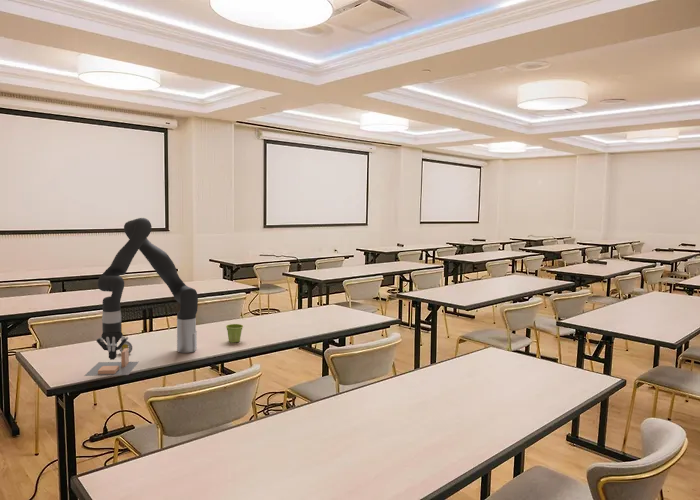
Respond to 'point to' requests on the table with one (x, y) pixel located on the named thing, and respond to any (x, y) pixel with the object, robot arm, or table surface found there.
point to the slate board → (121, 370)
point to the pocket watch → (126, 346)
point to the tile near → (108, 369)
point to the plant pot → (234, 332)
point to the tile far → (125, 357)
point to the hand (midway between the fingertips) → (112, 359)
